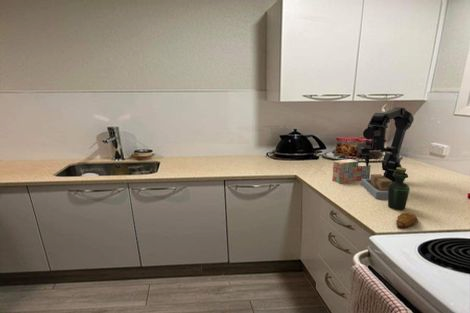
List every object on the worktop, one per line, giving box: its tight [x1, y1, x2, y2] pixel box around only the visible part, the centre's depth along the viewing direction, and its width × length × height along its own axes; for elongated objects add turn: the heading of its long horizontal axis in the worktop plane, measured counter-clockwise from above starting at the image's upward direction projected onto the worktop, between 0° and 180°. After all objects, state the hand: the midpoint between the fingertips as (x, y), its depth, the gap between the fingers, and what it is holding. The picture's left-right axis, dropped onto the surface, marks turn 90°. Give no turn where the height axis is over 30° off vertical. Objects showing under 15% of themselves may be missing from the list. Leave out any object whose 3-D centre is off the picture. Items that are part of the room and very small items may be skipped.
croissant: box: [396, 212, 419, 229], centre depth 100 cm, size 14×7×5 cm, turn 125°
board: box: [370, 173, 393, 191], centre depth 133 cm, size 12×5×6 cm, turn 177°
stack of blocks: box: [332, 158, 372, 184], centre depth 152 cm, size 21×6×12 cm, turn 106°
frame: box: [360, 178, 388, 200], centre depth 134 cm, size 12×21×4 cm, turn 173°
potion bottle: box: [387, 167, 411, 211], centre depth 113 cm, size 8×8×18 cm
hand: (376, 166), depth 138 cm, fingers open, 9 cm apart
